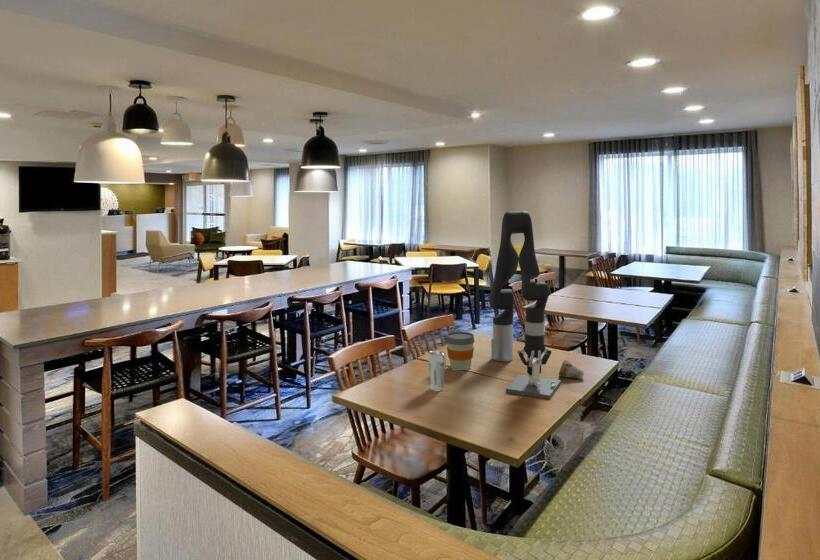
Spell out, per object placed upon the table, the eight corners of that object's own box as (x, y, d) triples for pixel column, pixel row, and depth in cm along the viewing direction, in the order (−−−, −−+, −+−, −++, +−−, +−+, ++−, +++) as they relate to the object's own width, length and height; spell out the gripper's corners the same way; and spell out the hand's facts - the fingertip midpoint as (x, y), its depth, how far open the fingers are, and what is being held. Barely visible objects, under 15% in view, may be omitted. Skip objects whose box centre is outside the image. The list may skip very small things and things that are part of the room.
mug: (584, 382, 212) (572, 362, 211) (563, 388, 218) (551, 368, 217) (588, 372, 218) (576, 353, 217) (568, 378, 224) (556, 359, 223)
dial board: (506, 392, 203) (506, 386, 202) (519, 377, 218) (519, 372, 218) (549, 399, 195) (549, 392, 194) (560, 383, 210) (560, 377, 210)
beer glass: (427, 386, 211) (427, 350, 209) (444, 385, 212) (444, 349, 210) (429, 392, 205) (429, 355, 202) (447, 391, 205) (446, 355, 203)
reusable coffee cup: (462, 361, 242) (462, 330, 240) (480, 368, 232) (480, 335, 229) (441, 366, 235) (440, 334, 233) (458, 374, 225) (458, 340, 223)
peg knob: (526, 380, 210) (526, 359, 208) (537, 380, 210) (537, 359, 208) (533, 390, 199) (533, 367, 198) (544, 389, 199) (544, 367, 198)
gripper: (520, 335, 199) (519, 378, 201) (555, 334, 200) (554, 376, 203) (514, 330, 206) (514, 372, 209) (548, 329, 207) (547, 370, 210)
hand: (534, 374), depth 206 cm, fingers closed on peg knob, 2 cm apart
